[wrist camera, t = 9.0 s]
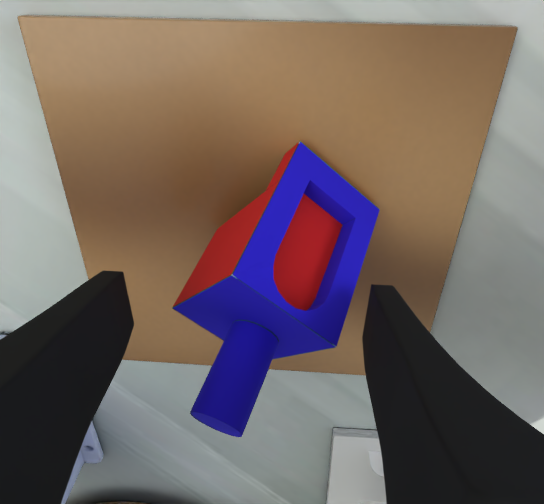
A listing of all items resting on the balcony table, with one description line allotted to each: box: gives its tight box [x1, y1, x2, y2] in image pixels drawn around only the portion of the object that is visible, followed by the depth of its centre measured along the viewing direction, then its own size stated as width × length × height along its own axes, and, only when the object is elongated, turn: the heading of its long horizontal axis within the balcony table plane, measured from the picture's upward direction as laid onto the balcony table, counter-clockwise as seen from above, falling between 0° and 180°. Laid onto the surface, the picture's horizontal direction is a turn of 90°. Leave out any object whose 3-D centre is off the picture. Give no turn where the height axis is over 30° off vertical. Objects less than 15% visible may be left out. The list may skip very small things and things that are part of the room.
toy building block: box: [172, 141, 380, 437], centre depth 13 cm, size 4×4×8 cm
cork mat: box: [18, 15, 517, 375], centre depth 16 cm, size 14×14×1 cm
